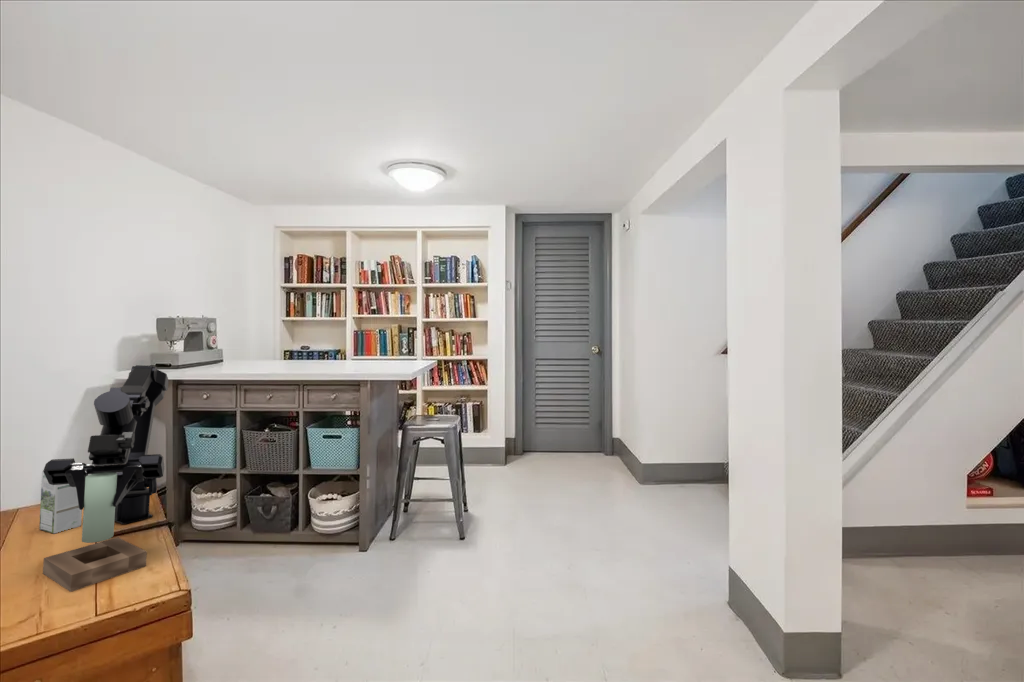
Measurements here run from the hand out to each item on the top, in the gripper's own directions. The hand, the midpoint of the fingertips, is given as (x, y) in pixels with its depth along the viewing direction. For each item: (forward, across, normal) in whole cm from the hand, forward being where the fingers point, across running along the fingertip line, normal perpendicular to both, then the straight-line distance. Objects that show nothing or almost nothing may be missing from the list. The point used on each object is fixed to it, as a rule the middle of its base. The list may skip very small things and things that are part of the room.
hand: (97, 507), depth 93 cm
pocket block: (+9, 0, +10) cm, 13 cm away
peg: (+4, 0, +6) cm, 7 cm away
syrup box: (-11, -13, +31) cm, 35 cm away
